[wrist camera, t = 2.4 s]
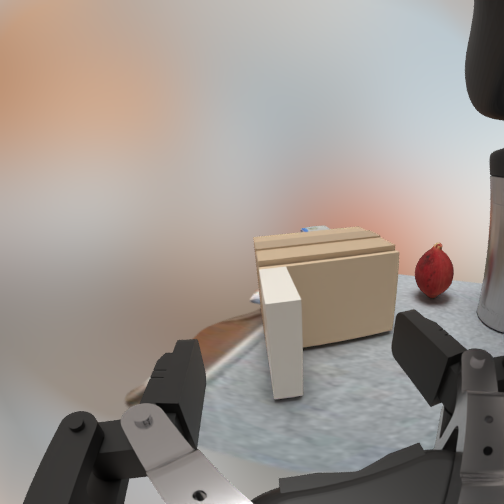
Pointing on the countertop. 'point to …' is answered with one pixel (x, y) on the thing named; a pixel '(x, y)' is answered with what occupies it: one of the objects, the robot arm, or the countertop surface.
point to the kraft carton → (316, 247)
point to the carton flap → (323, 308)
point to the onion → (434, 272)
